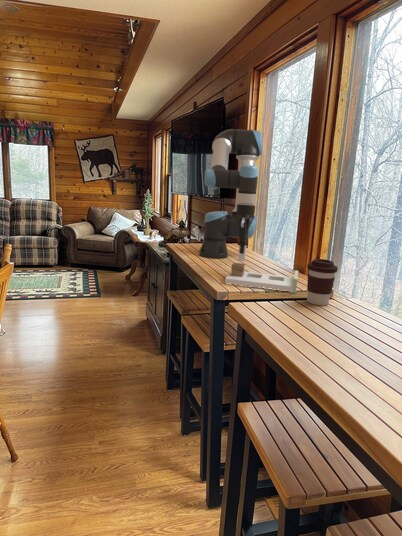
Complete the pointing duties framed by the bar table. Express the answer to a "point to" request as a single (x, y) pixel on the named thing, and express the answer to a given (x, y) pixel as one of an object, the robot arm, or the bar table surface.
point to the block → (237, 269)
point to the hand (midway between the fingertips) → (241, 260)
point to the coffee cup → (320, 281)
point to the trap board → (265, 281)
